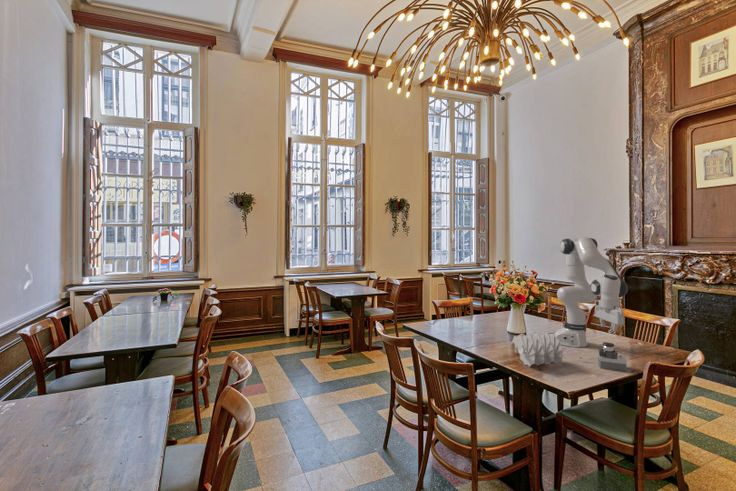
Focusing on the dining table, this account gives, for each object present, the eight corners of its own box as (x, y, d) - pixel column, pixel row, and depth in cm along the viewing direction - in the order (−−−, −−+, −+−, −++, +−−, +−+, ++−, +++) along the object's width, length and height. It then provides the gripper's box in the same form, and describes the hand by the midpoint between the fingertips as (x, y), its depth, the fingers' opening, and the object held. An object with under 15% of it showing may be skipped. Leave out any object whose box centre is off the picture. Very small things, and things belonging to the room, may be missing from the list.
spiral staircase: (561, 371, 216) (524, 373, 209) (541, 349, 231) (507, 351, 224) (574, 346, 208) (536, 348, 201) (553, 326, 224) (517, 326, 216)
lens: (602, 356, 212) (603, 344, 211) (601, 353, 217) (602, 341, 216) (614, 358, 209) (614, 345, 209) (612, 355, 214) (613, 343, 214)
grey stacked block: (599, 368, 211) (600, 352, 210) (597, 363, 219) (598, 347, 219) (626, 371, 206) (626, 355, 205) (623, 366, 214) (623, 350, 214)
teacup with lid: (524, 350, 242) (525, 332, 242) (533, 354, 233) (533, 335, 233) (507, 350, 240) (507, 332, 240) (514, 355, 231) (515, 336, 231)
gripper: (628, 308, 201) (627, 334, 202) (603, 301, 222) (602, 324, 223) (616, 308, 201) (615, 334, 202) (592, 300, 222) (592, 324, 222)
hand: (608, 329), depth 213 cm, fingers open, 8 cm apart
